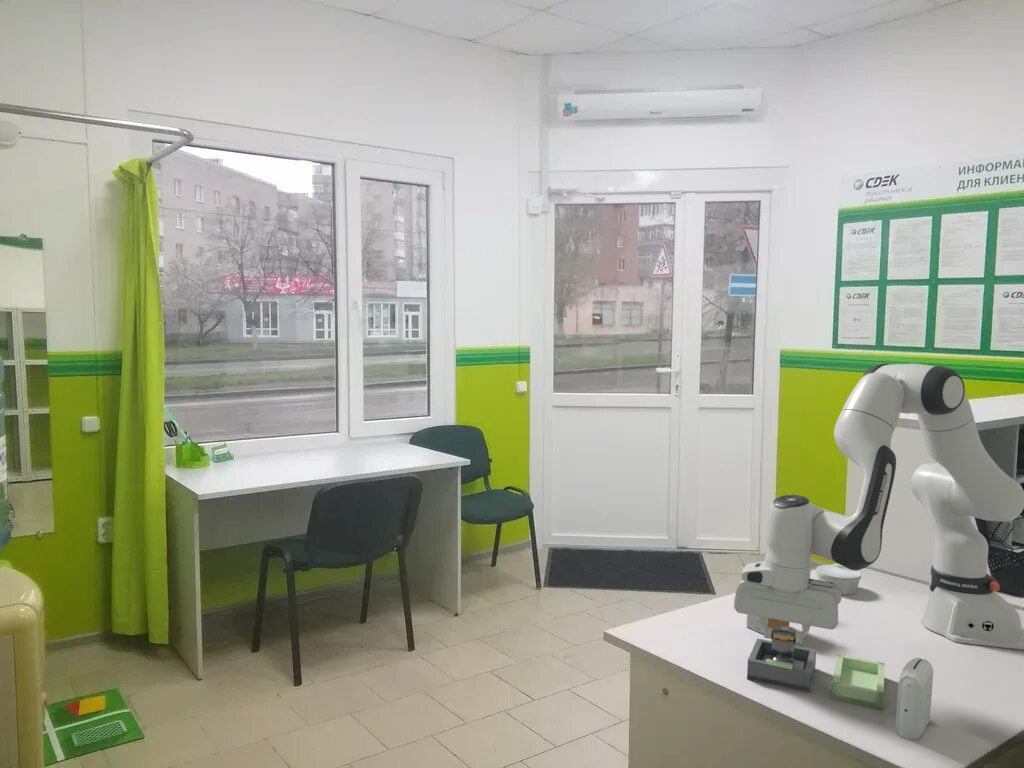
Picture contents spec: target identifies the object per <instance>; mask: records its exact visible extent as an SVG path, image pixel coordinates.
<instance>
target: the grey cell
mask: <svg viewBox="0 0 1024 768" xmlns="http://www.w3.org/2000/svg"><path fill="white" fill-rule="evenodd" d="M796 633H797V630H796V629H795V628H793V627H792V626H790V625H789V626H784V625H776V626H774V627H773V628H772V639H771V641H772V646H771V660H776V661H781V662H786V663H791V664H793V667H794V660H795V646H796V644H795V640H796V639H795V636H796Z"/></svg>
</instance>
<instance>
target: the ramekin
mask: <svg viewBox="0 0 1024 768" xmlns="http://www.w3.org/2000/svg"><path fill="white" fill-rule="evenodd" d="M815 572H816V574H817V580H820V581H824V582H832V583H834V585H836V586H838V587H839V588H840V590H841V596H851V595H854V594H856V592H857V591H858V588H859V583H860V580H861V579H862V574H861V573H860V571H859V570H857V571H854V570H850V569H848V568H846V567H844V566H842V565H840V564H822V565H819V566H816V569H815ZM833 588H836V587H833Z"/></svg>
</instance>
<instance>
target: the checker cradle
mask: <svg viewBox="0 0 1024 768" xmlns="http://www.w3.org/2000/svg"><path fill="white" fill-rule="evenodd" d="M771 646H772V640H767V639H762V638H756V641H755V643H754V645H753V647H752V648H751V649H752V650H751V652H750V655H749V657H748V659H747V670H746V671H747V673H746V679H747V680H751V681H755V682H758V683H759V682H760V683H764V684H767V685H773V686H777V687H781V688H787V689H792V690H795V691H801V692H805V693H808V694H809V693H810V692H811V689H812V685H813V680H814V675H815V672H814V671H815V670H816V661H817V649H814V648H808V647H803V646H797V645H795V660H799V661H804V662H805V665H804V669H801V668H796V667H793V664H791V663H786V662H781V661H776V660H771V659H767V660H766V661H762V660H763V657H764V655H765V654H769V655H771Z"/></svg>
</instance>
